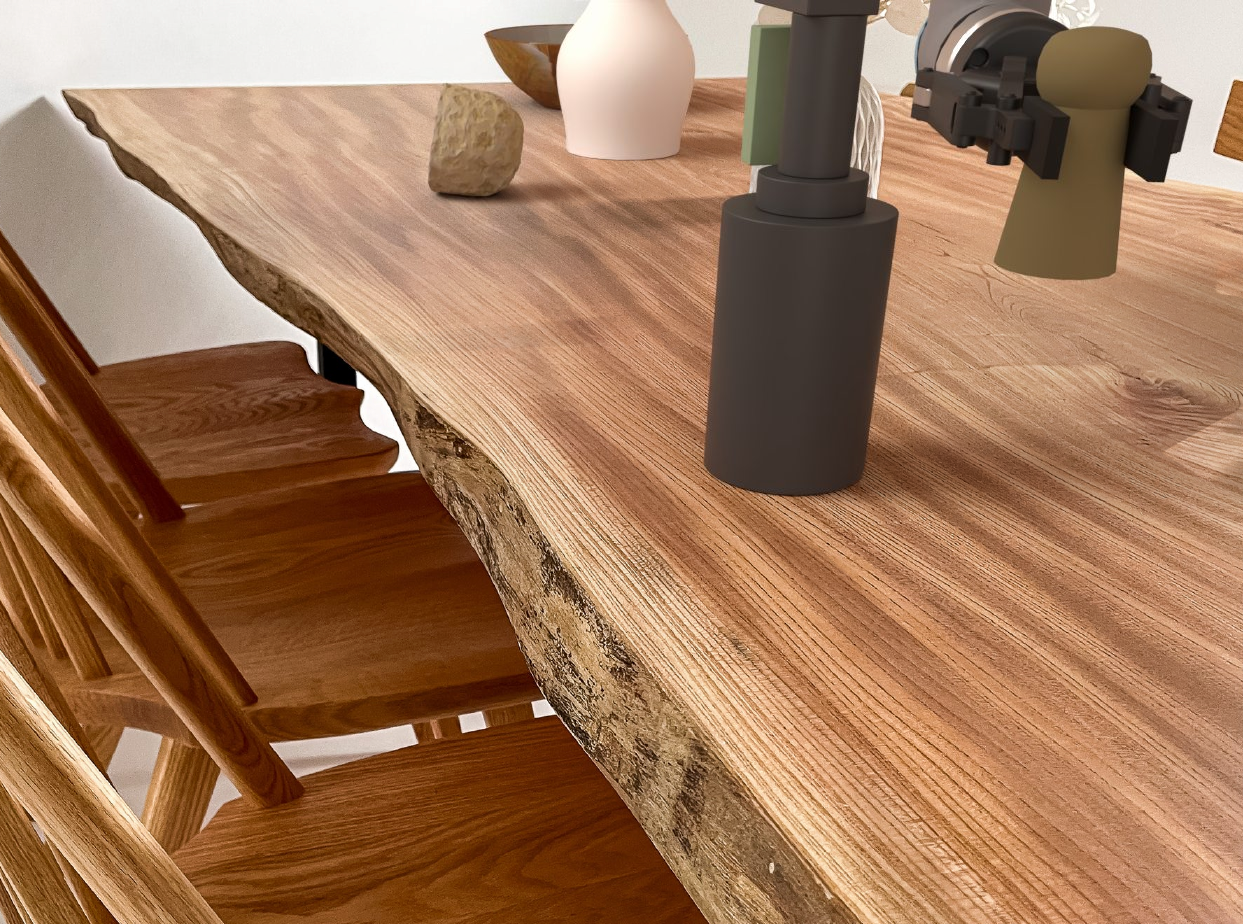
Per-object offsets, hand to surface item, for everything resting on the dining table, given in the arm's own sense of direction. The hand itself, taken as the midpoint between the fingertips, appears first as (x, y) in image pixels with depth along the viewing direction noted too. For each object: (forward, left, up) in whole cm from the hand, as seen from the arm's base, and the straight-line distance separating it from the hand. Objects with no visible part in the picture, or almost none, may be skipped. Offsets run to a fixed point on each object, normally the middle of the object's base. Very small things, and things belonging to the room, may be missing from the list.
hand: (1109, 149), depth 64 cm
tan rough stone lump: (+48, -55, -15) cm, 75 cm away
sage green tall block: (+15, 0, -1) cm, 15 cm away
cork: (+1, -5, -7) cm, 9 cm away
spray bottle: (+13, +4, -15) cm, 20 cm away
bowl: (+51, -113, -15) cm, 125 cm away
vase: (+40, -82, -15) cm, 92 cm away
